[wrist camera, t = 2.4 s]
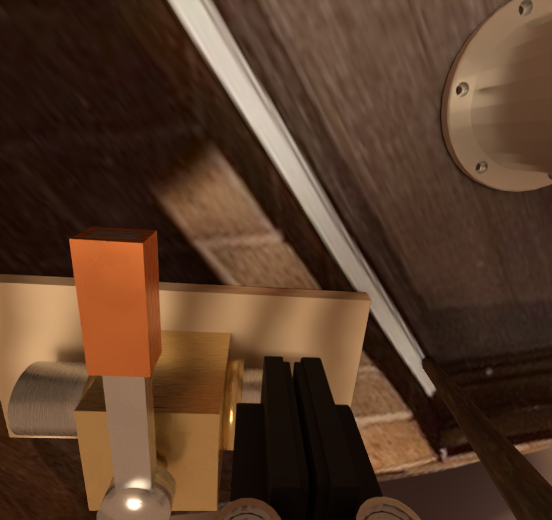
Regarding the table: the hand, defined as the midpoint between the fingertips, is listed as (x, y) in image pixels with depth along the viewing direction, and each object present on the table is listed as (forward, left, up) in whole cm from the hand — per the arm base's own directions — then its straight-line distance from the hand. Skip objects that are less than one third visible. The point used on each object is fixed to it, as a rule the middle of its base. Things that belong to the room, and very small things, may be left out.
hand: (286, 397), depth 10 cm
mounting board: (+7, +12, -17) cm, 22 cm away
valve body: (+7, +12, -16) cm, 21 cm away
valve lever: (+7, +5, -6) cm, 10 cm away
